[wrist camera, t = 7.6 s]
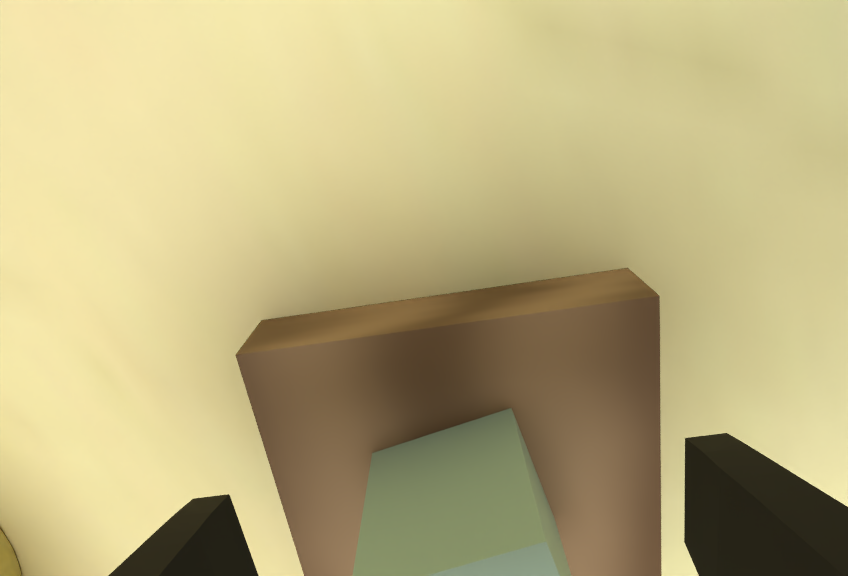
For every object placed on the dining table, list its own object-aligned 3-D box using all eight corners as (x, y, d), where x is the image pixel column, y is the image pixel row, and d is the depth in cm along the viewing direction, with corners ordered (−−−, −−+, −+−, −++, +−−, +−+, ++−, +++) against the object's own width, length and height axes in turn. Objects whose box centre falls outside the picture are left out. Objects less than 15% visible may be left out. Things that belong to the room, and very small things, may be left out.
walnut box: (621, 262, 17) (659, 296, 14) (630, 544, 21) (661, 612, 18) (266, 314, 18) (235, 354, 15) (339, 576, 22) (326, 646, 19)
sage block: (511, 407, 16) (546, 541, 11) (555, 519, 17) (602, 680, 12) (372, 453, 16) (348, 598, 12) (425, 557, 18) (423, 724, 13)
